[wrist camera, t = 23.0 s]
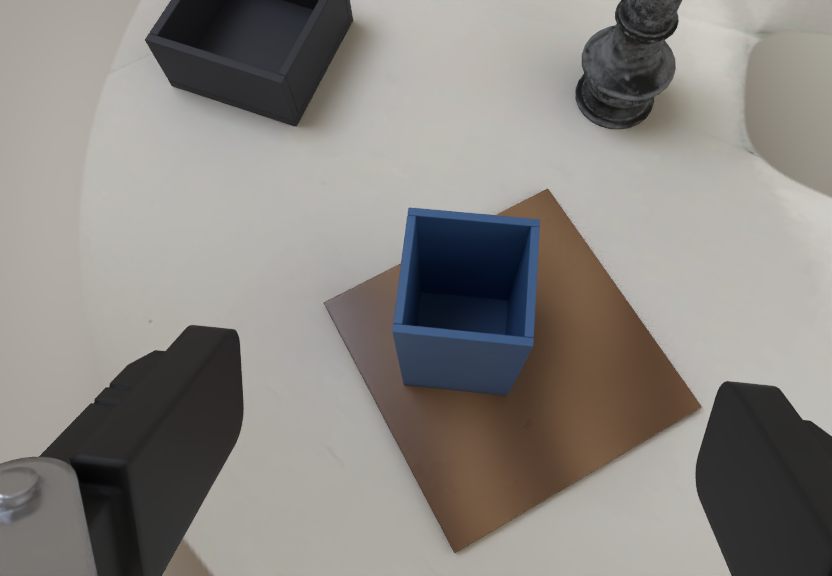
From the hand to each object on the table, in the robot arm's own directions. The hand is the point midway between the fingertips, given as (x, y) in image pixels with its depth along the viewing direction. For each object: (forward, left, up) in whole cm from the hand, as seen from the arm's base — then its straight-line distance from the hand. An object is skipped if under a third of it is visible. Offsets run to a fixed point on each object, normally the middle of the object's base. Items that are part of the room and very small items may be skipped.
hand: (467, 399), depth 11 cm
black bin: (+3, +33, -27) cm, 42 cm away
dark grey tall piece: (+23, +17, -27) cm, 39 cm away
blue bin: (+5, +7, -26) cm, 28 cm away
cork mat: (+7, +5, -27) cm, 28 cm away
